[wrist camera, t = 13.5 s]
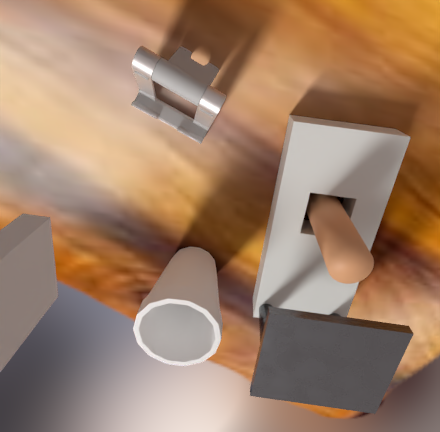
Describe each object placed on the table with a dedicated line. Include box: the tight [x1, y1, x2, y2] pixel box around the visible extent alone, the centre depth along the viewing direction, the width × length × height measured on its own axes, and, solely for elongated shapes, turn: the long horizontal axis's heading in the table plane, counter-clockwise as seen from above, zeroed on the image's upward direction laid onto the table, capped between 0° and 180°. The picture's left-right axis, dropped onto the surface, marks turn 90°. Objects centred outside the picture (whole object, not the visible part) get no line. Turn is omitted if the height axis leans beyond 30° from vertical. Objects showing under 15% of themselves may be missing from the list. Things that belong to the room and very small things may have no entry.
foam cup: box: [133, 247, 223, 366], centre depth 43 cm, size 10×9×13 cm
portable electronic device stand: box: [131, 46, 227, 144], centre depth 36 cm, size 9×8×8 cm
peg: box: [306, 193, 374, 284], centre depth 38 cm, size 4×4×14 cm
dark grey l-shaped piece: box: [250, 304, 413, 414], centre depth 39 cm, size 11×13×12 cm
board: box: [253, 115, 411, 318], centre depth 43 cm, size 26×12×4 cm, turn 173°
